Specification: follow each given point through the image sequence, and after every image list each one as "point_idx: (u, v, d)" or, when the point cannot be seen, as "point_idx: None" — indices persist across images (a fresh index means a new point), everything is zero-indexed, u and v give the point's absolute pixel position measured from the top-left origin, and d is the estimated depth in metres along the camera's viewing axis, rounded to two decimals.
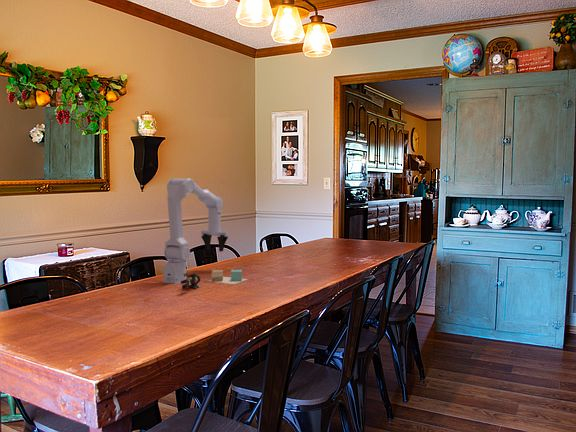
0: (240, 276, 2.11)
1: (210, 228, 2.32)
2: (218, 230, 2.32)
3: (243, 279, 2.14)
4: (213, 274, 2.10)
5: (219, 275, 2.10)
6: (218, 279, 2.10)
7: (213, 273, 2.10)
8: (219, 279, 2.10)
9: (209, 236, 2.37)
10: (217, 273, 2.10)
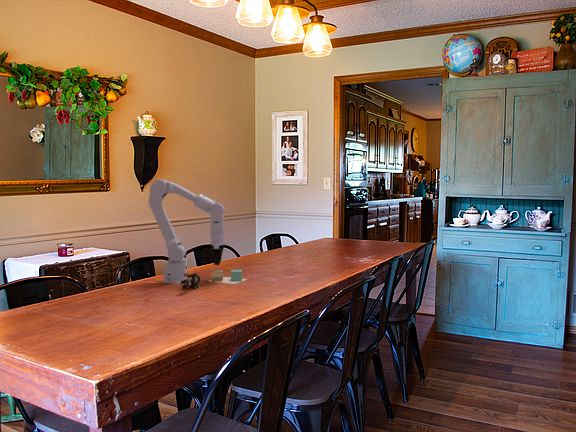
0: (240, 276, 2.11)
1: None
2: (215, 241, 2.09)
3: (243, 279, 2.14)
4: (213, 274, 2.10)
5: (219, 275, 2.10)
6: (218, 279, 2.10)
7: (213, 273, 2.10)
8: (219, 279, 2.10)
9: (220, 247, 2.15)
10: (217, 273, 2.10)
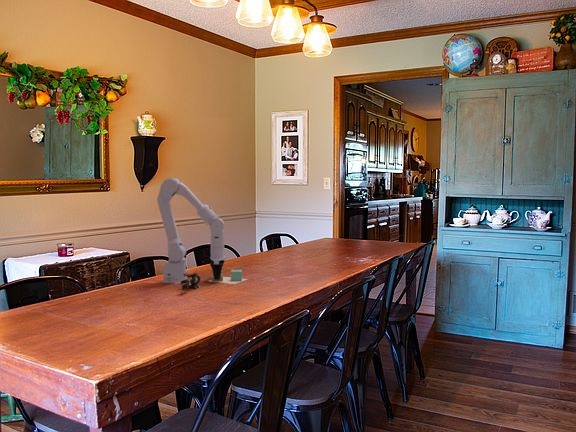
0: (240, 276, 2.11)
1: None
2: (215, 256, 2.09)
3: (243, 279, 2.14)
4: (213, 274, 2.10)
5: None
6: None
7: None
8: None
9: (219, 262, 2.15)
10: None
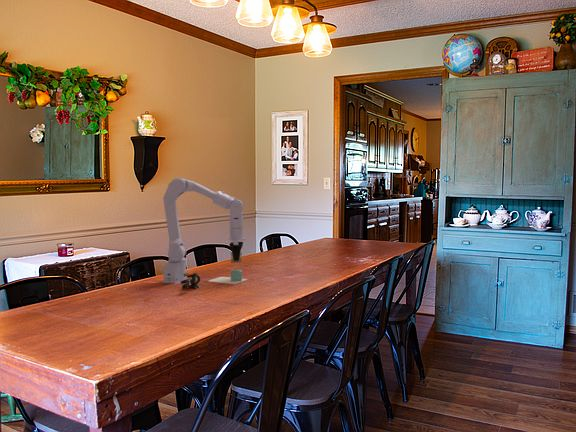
0: (240, 276, 2.11)
1: None
2: (234, 237, 2.09)
3: (243, 279, 2.14)
4: (232, 256, 2.10)
5: None
6: None
7: (232, 255, 2.10)
8: (238, 261, 2.10)
9: (238, 243, 2.15)
10: None
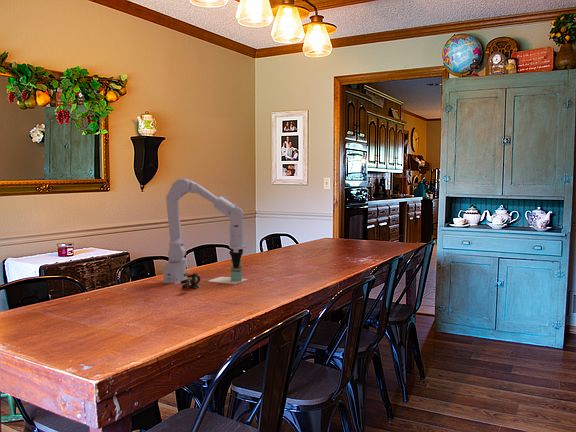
0: (240, 276, 2.11)
1: None
2: (234, 245, 2.09)
3: (243, 279, 2.14)
4: (232, 263, 2.10)
5: None
6: (237, 268, 2.11)
7: (232, 262, 2.10)
8: (238, 268, 2.11)
9: (238, 251, 2.15)
10: None
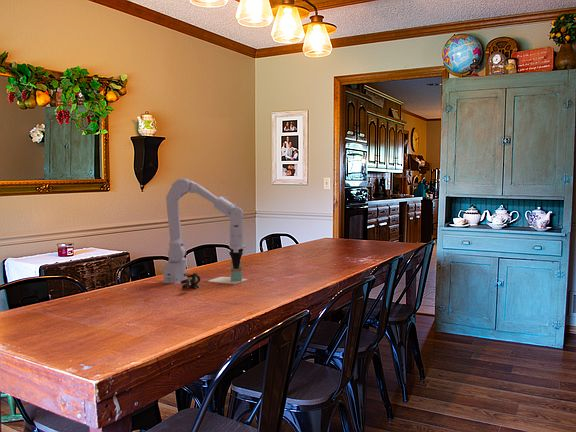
0: (240, 276, 2.11)
1: None
2: (234, 245, 2.09)
3: (243, 279, 2.14)
4: (232, 265, 2.10)
5: None
6: (237, 269, 2.11)
7: (232, 264, 2.10)
8: (238, 270, 2.11)
9: (238, 250, 2.16)
10: None
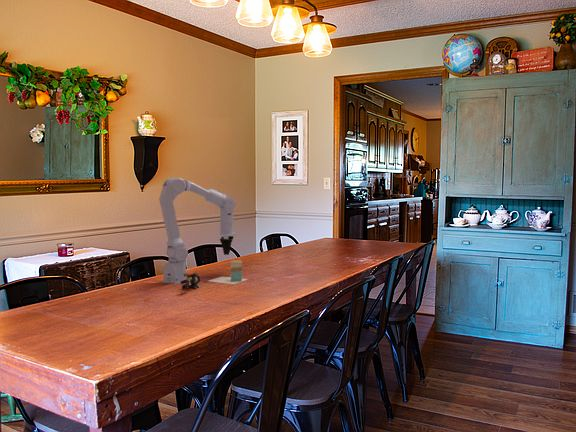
0: (240, 276, 2.11)
1: None
2: (225, 232, 2.20)
3: (243, 279, 2.14)
4: (232, 265, 2.10)
5: (238, 266, 2.11)
6: (237, 269, 2.11)
7: (232, 264, 2.10)
8: (238, 270, 2.11)
9: (229, 238, 2.27)
10: (236, 264, 2.10)
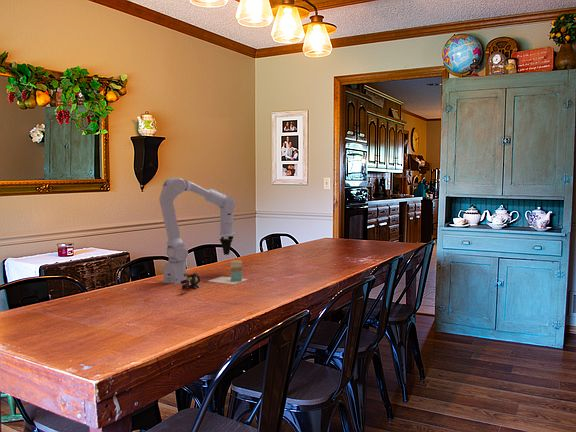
0: (240, 276, 2.11)
1: None
2: (225, 232, 2.21)
3: (243, 279, 2.14)
4: (232, 265, 2.10)
5: (238, 266, 2.11)
6: (237, 269, 2.11)
7: (232, 264, 2.10)
8: (238, 270, 2.11)
9: (229, 238, 2.27)
10: (236, 264, 2.10)
